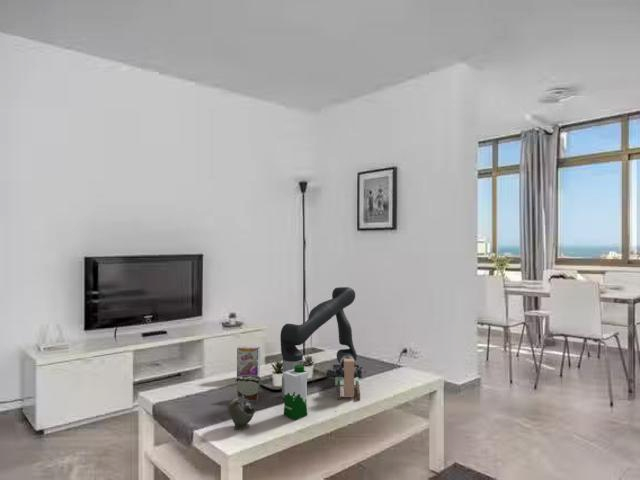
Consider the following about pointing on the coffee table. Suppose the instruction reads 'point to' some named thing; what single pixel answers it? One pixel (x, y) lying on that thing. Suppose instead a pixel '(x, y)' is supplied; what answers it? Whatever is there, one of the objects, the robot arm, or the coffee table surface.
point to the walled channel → (356, 390)
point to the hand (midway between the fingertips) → (349, 375)
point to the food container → (248, 386)
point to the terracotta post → (349, 377)
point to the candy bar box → (248, 360)
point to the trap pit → (339, 367)
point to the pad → (343, 381)
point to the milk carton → (295, 392)
